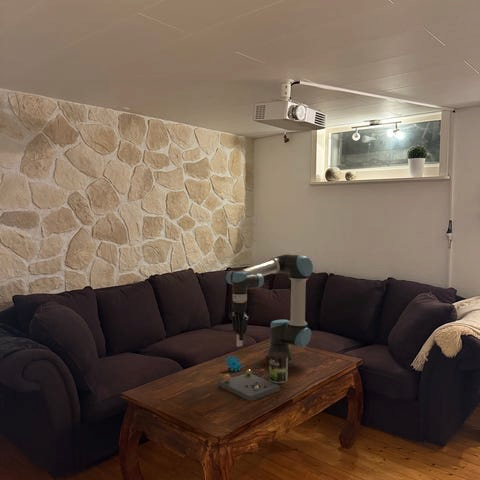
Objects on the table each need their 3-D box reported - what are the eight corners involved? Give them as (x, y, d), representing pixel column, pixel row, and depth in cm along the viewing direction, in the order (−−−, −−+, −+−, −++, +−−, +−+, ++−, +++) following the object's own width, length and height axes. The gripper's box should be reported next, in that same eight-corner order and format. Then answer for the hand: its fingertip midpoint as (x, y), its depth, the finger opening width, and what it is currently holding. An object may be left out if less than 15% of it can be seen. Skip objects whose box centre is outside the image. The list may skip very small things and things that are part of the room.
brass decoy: (249, 373, 243) (249, 368, 243) (253, 375, 241) (253, 369, 241) (244, 375, 241) (244, 369, 241) (248, 376, 239) (248, 370, 238)
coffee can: (280, 384, 234) (280, 358, 233) (264, 379, 241) (265, 354, 240) (291, 379, 242) (292, 354, 241) (276, 374, 249) (276, 349, 248)
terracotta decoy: (227, 380, 234) (227, 372, 234) (232, 382, 231) (232, 374, 231) (221, 381, 232) (221, 374, 231) (226, 384, 228) (226, 376, 228)
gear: (228, 370, 250) (224, 354, 256) (224, 375, 253) (220, 359, 260) (245, 370, 255) (241, 354, 261) (241, 375, 259) (237, 359, 265)
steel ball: (258, 383, 226) (261, 388, 224) (256, 387, 228) (259, 392, 226) (253, 385, 224) (257, 390, 222) (251, 389, 226) (255, 394, 224)
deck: (219, 386, 232) (219, 381, 232) (248, 377, 245) (248, 372, 245) (250, 401, 214) (250, 396, 214) (279, 390, 227) (279, 385, 227)
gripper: (226, 300, 235) (226, 344, 237) (242, 304, 225) (242, 350, 227) (237, 298, 240) (237, 341, 242) (253, 302, 230) (253, 347, 232)
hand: (239, 345), depth 234 cm, fingers closed
